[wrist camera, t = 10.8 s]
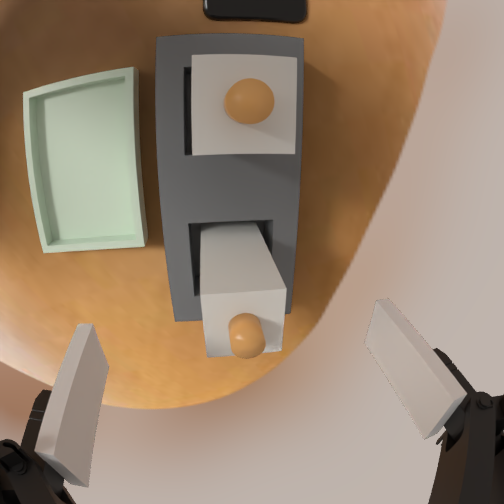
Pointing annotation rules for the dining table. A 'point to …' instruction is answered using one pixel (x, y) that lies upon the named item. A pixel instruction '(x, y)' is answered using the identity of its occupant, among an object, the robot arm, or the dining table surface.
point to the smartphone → (256, 10)
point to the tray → (86, 162)
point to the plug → (239, 291)
